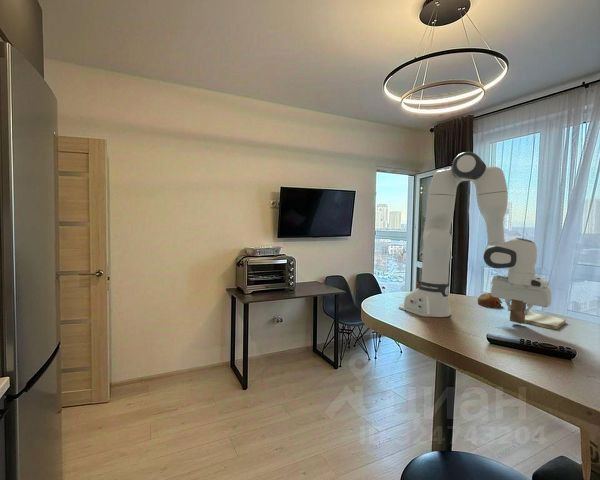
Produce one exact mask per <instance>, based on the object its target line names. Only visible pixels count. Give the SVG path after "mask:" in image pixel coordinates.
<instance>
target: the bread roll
mask: <svg viewBox="0 0 600 480" xmlns="http://www.w3.org/2000/svg"><path fill="white" fill-rule="evenodd" d="M477 303H478V305H480V306H483V307H487V308H496V309H497V308H500V307H502V304H503V301H502V300H501V298H497V297H493V296H492V295H491V292H484V293H482V294H480V295H479V296H478V298H477Z"/></svg>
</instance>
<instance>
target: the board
mask: <svg viewBox="0 0 600 480" xmlns="http://www.w3.org/2000/svg"><path fill="white" fill-rule="evenodd" d="M566 322H567V321H566V318H561V317H557V316H556V317H555V316H552V315H548V314H547V315H546V314H541V313H540V314H539V313H536V312H530V311H529V314H528V315H525V322H524V324H529V325H532V326H538V327H541V328H546V329H552V330H554V331H556V330H558V329H560V328H561V327H562V326H563V325H565V324H566Z"/></svg>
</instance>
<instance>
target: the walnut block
mask: <svg viewBox="0 0 600 480" xmlns="http://www.w3.org/2000/svg"><path fill="white" fill-rule="evenodd" d="M510 305H511V311H509V312H510V314H509V322H512V323H516V324H523V323H524V322H525V314H523V310H524V309H527V304H526V303H523V301H519V300H514V299H512V300H511V302H510ZM524 324H525V323H524Z"/></svg>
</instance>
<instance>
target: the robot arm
mask: <svg viewBox="0 0 600 480" xmlns="http://www.w3.org/2000/svg"><path fill="white" fill-rule="evenodd" d="M451 163H452V164H451V167H450V168H447V169H440V170H437V171H436V172H435V173H434V174H433V175H432V178H431V182H430V185H429V189H428V196H427V207H426V213H425V221H424V225H423V226H424V228H423V234H422V241H423V251H422V263H421V265H422V266H421V269H422V271H421V280H419V281H416V286H417V288H415V289H413V290H412V291H410V292H409V293H407V294H406V296H405V297H404V302H403V303H400V304H399V305H398V309H400V310H403V311H405V310H406V312H408V313H412V314H415V315H418V316H420V317H429V318H431V317H434V318H447V317H449V316H451V314H452V312H451V309H450V302H449V295H450V294H449V293H450V283H449V274H450V271H449V270H450V260H451V253H452V242H453V240H452V239H453V237H452V235H451V233H450V232H451V227H452V221H453V217H454V212H455V204H456V197H457V189H458V186H459V185H460V184H463V183H469V182H472V183H473V184H474V187H475V194H476V195H475V196H476V202H477V206H478V209H479V212H480V214H481V216H482V218H483V219H484V222H485V226H486V227H485V228H486V235H487V245H486V248H485V249H484V253H483V257H482V258H483V261H484V263H485V264H486V266H488V267H489V268H492V269H508V273H507V274H508V275H506V276H503V275H498V274H497V275H495V276H493V277H492V280H491V283H492V286H491V290H490V293H491V295H492V296H493V297H497V298H499V299H502V300H504V303H505V304H506V306H507V311H508V312H510V311H511V300H512V299H514V300H519V301H523V303H526V309H524V310H523V314H525V315H528V314H529V312H530V310H531V309H532V308H533V307H534V306H537V307H542V308H548V307H549V306H551V304H552V292H551V290H550V287H549V286H550V281H549V280H547V279H544V278H541V277H539V276H537V275H536V270H535V268H536V266H535V265H536V264H537V258H538V250H537V245H536V243H535V242H534V241H533V240H531V239H525V238H522V237H521V238H520V237H514V238H512V239H510V240H508V241H506V240H505V232H504V231H505V230H504V218H505V215H506V212H507V208H508V201H509V200H508V199H509V197H508V196H509V195H508V186H507V181H506V177H505V174H504V171H503V170H502V169H501V168H500V167H497V166H487V164H486V163H485V162H484V161H483V160H482V158H481V157H480V156H479V155H478V154H476V153H475V152H472V151H465V152H461V153H458V155H456V157H455V158H454V159H453V161H452V162H451Z"/></svg>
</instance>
